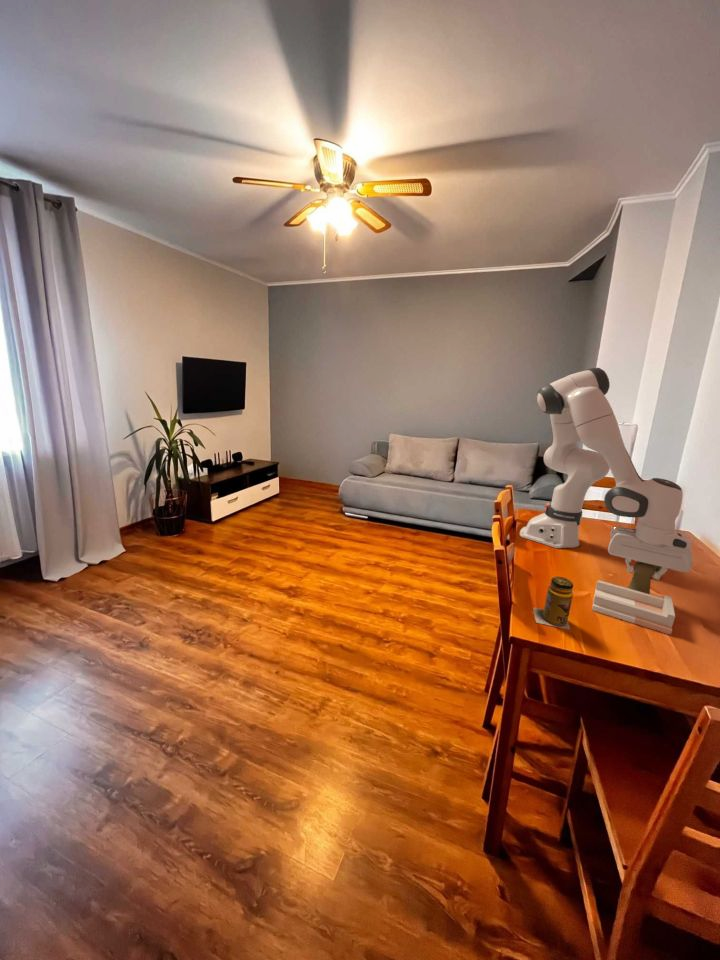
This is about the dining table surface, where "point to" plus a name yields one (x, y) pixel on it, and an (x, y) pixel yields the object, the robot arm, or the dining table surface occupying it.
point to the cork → (642, 577)
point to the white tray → (634, 606)
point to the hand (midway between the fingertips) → (642, 575)
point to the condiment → (556, 604)
